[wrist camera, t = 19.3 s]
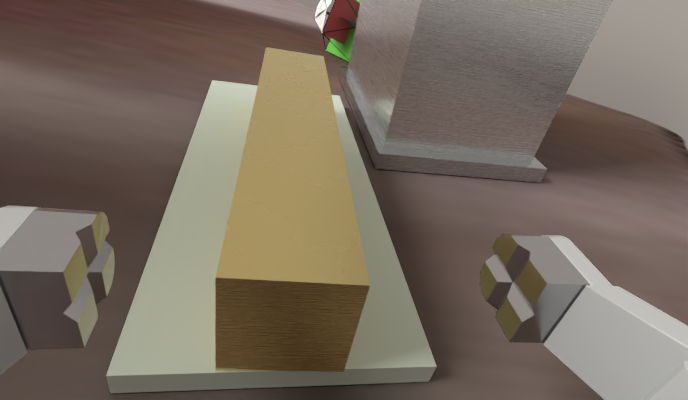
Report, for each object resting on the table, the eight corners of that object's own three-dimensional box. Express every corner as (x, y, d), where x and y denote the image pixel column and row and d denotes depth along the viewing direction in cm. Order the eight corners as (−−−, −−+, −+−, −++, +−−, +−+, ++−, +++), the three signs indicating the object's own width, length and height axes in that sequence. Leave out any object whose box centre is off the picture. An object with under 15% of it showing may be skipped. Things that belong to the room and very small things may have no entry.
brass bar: (344, 371, 11) (370, 285, 9) (215, 370, 11) (215, 277, 9) (315, 109, 27) (323, 56, 25) (262, 102, 26) (266, 47, 24)
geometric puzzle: (364, 26, 46) (342, -42, 40) (408, 44, 43) (393, -28, 36) (320, 66, 45) (291, 3, 39) (362, 89, 41) (337, 22, 35)
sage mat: (428, 381, 12) (436, 366, 12) (110, 393, 11) (105, 376, 10) (337, 106, 30) (339, 95, 30) (212, 91, 28) (212, 80, 28)
